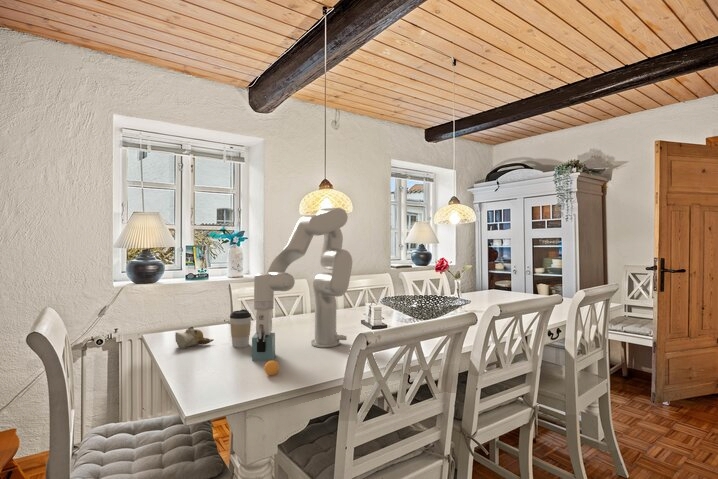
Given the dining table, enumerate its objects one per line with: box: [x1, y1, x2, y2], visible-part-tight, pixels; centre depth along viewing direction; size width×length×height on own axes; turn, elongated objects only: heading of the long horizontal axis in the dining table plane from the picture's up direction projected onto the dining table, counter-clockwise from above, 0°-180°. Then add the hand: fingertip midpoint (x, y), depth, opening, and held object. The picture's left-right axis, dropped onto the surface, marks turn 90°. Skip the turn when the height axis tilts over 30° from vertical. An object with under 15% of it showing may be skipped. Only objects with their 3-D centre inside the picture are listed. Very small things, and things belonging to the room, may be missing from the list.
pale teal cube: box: [251, 332, 276, 362], centre depth 157 cm, size 8×8×9 cm
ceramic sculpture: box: [174, 326, 215, 349], centre depth 172 cm, size 11×9×15 cm
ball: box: [263, 360, 280, 377], centre depth 137 cm, size 5×5×5 cm
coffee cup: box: [229, 309, 252, 348], centre depth 174 cm, size 9×9×15 cm
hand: (263, 348), depth 156 cm, fingers open, 9 cm apart
